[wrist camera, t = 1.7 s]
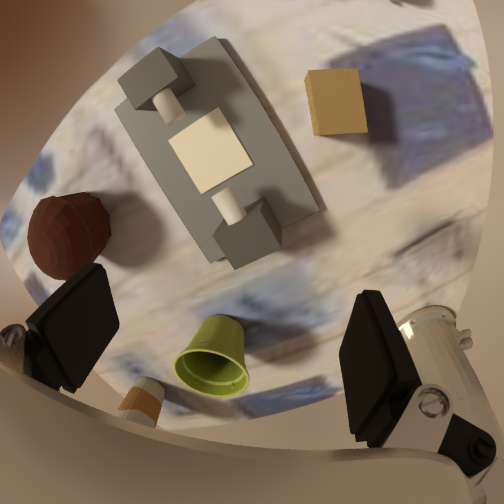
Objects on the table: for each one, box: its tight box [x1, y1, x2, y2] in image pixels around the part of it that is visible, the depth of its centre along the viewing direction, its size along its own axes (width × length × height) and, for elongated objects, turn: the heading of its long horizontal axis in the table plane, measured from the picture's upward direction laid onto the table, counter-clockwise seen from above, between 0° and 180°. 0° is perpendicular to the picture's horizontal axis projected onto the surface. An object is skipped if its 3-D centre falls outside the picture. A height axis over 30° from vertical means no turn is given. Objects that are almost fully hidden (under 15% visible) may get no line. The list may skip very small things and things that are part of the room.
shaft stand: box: [114, 36, 320, 270], centre depth 25 cm, size 14×22×6 cm, turn 30°
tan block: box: [304, 69, 368, 136], centre depth 22 cm, size 4×6×5 cm
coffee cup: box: [115, 377, 165, 428], centre depth 41 cm, size 8×8×15 cm
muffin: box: [27, 192, 111, 281], centre depth 29 cm, size 12×11×10 cm
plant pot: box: [173, 315, 249, 397], centre depth 34 cm, size 9×9×9 cm
